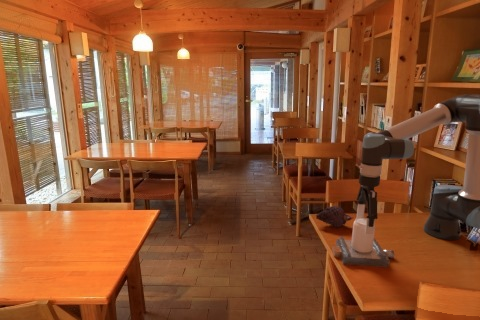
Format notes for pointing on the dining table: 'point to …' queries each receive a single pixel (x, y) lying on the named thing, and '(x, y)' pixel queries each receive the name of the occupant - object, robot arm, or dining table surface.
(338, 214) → the pine cone
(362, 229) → the beverage can
